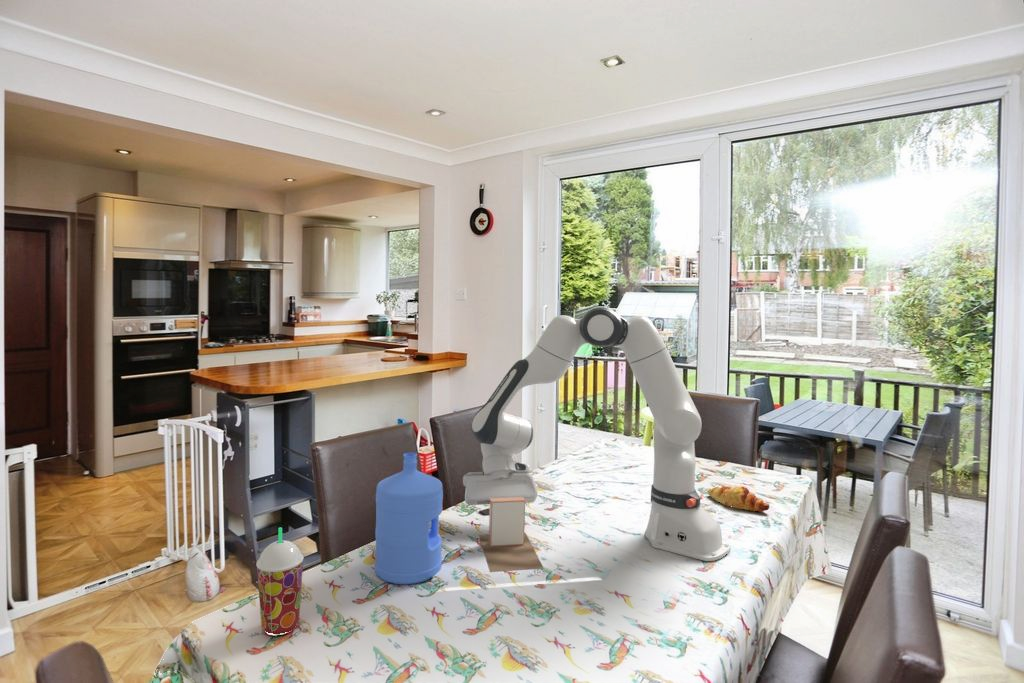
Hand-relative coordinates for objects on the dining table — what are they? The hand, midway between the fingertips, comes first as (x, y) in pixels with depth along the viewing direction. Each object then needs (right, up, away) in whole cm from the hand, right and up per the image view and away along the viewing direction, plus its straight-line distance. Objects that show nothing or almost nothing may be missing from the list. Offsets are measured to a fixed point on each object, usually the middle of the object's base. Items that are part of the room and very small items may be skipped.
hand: (503, 517), depth 151 cm
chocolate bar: (+1, -6, +15) cm, 16 cm away
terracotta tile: (+1, -5, -5) cm, 7 cm away
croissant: (+76, -6, +32) cm, 83 cm away
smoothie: (-43, -8, -43) cm, 61 cm away
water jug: (-22, -7, -18) cm, 30 cm away
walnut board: (+1, -7, -9) cm, 11 cm away
